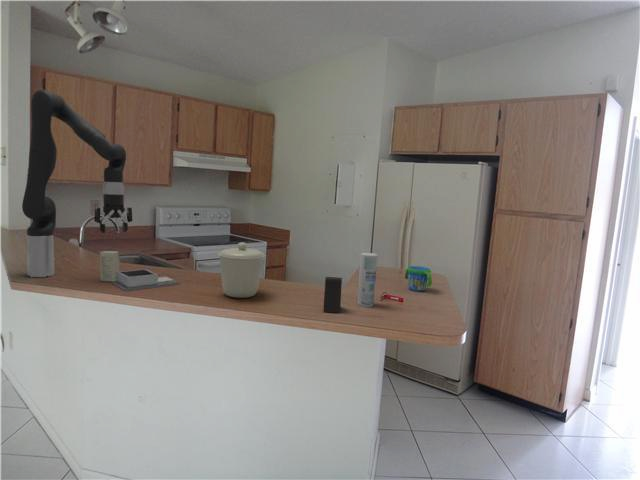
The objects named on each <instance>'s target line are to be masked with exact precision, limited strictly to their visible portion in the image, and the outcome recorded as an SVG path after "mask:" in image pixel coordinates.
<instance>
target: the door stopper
mask: <svg viewBox="0 0 640 480" xmlns="http://www.w3.org/2000/svg"><path fill="white" fill-rule="evenodd" d="M324 279H325V280H324V281H325V282H324V294H323V295H324V296H323V313H331V314H340V313H341V303H342V302H341V300H342V283H343V277H336V276H335V277H334V276H333V277H332V276H325V278H324Z"/></svg>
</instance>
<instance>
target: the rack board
mask: <svg viewBox="0 0 640 480" xmlns="http://www.w3.org/2000/svg"><path fill="white" fill-rule="evenodd" d="M180 282H181V281H179V280H176V279H174V278H171V277H170V276H167V275H159V274H158V273H155V272H153V271H151V270H149V269H146V268H142V269H133V270H123V271H121V270H120V272H116V281H113V282H112V285H115V286H116V287H117V288H120V289H122V290H123V291H125V292H131V291H138V290H145V289H153V288H154V289H155V288H162V287H169V286H176V285H180V284H181V283H180Z"/></svg>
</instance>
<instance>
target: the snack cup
mask: <svg viewBox="0 0 640 480" xmlns="http://www.w3.org/2000/svg"><path fill="white" fill-rule="evenodd" d="M431 272H432V269H430V268H429V267H425V266H417V265H410V266H407V267H406V270H405V273H404V278H405V280H407V283H408V290H411V291H414V292H419V293H421V292H424V291H426V288H427V287H429V288H430V287H431V286H432V285H433V280H432V274H431Z"/></svg>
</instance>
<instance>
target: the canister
mask: <svg viewBox="0 0 640 480" xmlns="http://www.w3.org/2000/svg"><path fill="white" fill-rule="evenodd" d="M247 247H248V245H247V243H245V242H244V241H243V242H238V244H237V247H230V248H225V249H223V250H221V251H220V252H218V253H217V255H218V256H219V265H220V275H221V285H222V291H223V293H224V294H225V296H227V297H231V298H235V299H236V298H237V299H246V298H247V299H248V298H250V297H254V296H255V295H256V294H257V293H258V290H259V286H260V280H261V274H262V268H263V263H264V258H265V257H266V254H265V253H263V252H262V251H260V250H259V249H255V248H254V249H253V248H247Z"/></svg>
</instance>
